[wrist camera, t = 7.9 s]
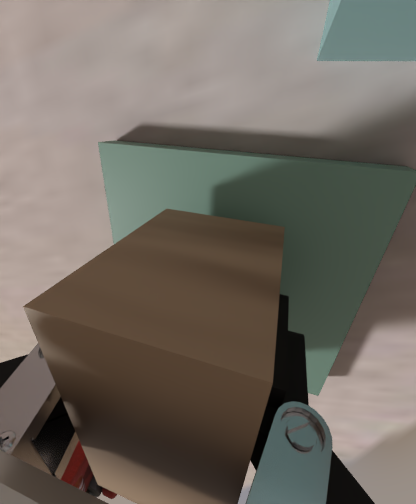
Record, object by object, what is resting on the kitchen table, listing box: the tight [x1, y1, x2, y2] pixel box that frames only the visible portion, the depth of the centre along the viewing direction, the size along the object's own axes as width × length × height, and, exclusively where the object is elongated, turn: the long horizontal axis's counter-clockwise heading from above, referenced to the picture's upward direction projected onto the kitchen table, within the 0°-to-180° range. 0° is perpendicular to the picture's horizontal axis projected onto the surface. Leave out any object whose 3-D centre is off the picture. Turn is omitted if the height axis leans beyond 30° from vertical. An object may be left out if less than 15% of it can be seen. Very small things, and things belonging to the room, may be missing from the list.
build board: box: [98, 141, 416, 396], centre depth 12 cm, size 12×12×1 cm
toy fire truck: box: [61, 441, 117, 499], centre depth 24 cm, size 7×12×10 cm, turn 169°
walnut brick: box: [23, 209, 285, 504], centre depth 8 cm, size 8×4×6 cm, turn 177°
